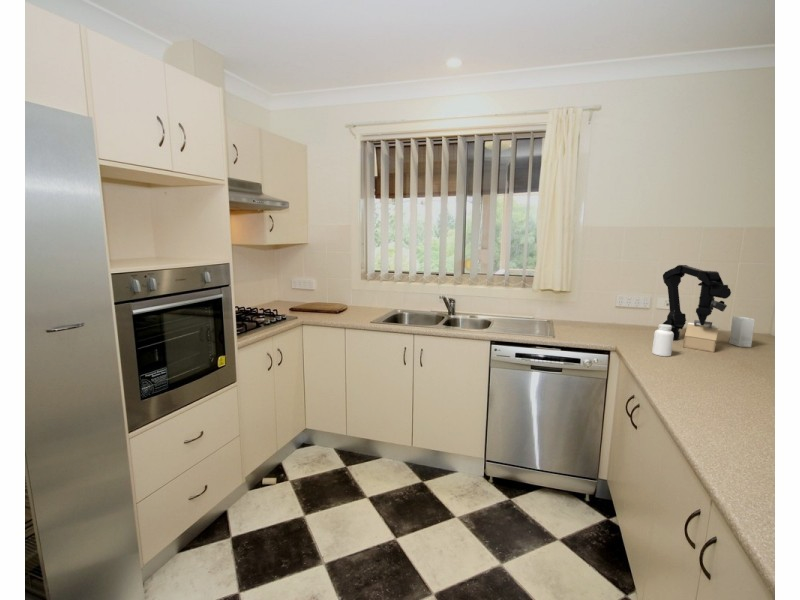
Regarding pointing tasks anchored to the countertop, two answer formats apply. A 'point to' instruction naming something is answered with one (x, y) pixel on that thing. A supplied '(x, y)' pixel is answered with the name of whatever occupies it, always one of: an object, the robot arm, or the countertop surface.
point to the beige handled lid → (702, 330)
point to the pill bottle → (663, 340)
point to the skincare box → (741, 331)
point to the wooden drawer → (699, 344)
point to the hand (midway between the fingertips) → (702, 324)
